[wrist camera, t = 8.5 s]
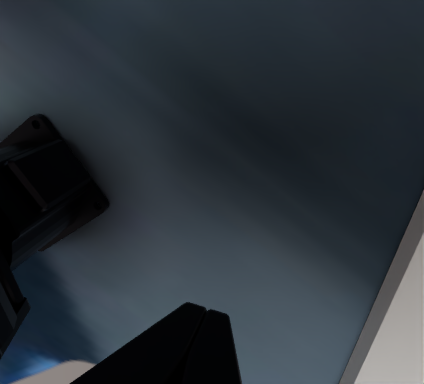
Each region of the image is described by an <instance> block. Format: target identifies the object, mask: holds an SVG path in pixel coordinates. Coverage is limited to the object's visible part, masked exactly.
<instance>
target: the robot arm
mask: <svg viewBox="0 0 424 384" xmlns="http://www.w3.org/2000/svg"><path fill="white" fill-rule="evenodd" d="M37 121H38V122H39V123H40V127H39V126H38V125H37ZM97 202H99V203H100V204H101V205H102V207H100V206H99V205H98V204H97ZM108 207H109V202H108V200H107V198H106V197H105V196H104V194H103V193H102V192H101V190H100V189H99V188H98V187H97V185H96V184H95V183H94V181H93V180H92V179H91V177H90V176H89V174H88V173H87V171H86V170H85V169H84V167H83V166H82V165H81V163H80V162H79V161H78V159H77V158H76V157H75V155H74V154H73V153H72V151H71V150H70V149H69V147H68V146H67V145H66V143H65V142H64V141H63V140H62V139H61V137H60V136H59V135H58V133H57V132H56V131H55V129H54V128H53V127H52V125H51V124H50V123H49V121H48V120H47V119H46V118H45V117H44V116H43V115H41V114H37V115H33V116H31V117H29V118H28V119H27V120H26V121H25V122H24V123H23V124H22V125H20V126H19V127H18V128H17V129H16V130H15V131H14V132H12V133H11V134H10V135H9V136H8V137H7V138H6V139H4V140H3V141H2V142H1V143H0V360H1V358H2V356H3V354H4V352H5V351H6V349H7V347H8V346H9V344H10V342H11V340H12V339H13V337H14V335H15V334H16V332H17V330H18V329H19V327H20V325H21V324H22V322H23V320H24V318H25V317H26V315H27V313H28V312H29V310H30V308H31V307H30V305H29V302H28V300H27V298H25V297H23V295H22V293H21V290H20V288H19V286H18V284H17V282H16V280H15V278H14V275H13V273H12V271H13V270H14V269H15V268H16V267H18V266H19V265H20V264H22V263H23V262H24V261H25V260H27V259H28V258H29V257H30V256H32V255H33V254H34V253H36V252H37V251H44V250H45V249H47V248H48V247H50V246H52V245H53V244H55V243H56V242H58V241H59V240H61V239H63V238H64V237H66V236H67V235H69V234H70V233H72V232H74V231H75V230H77V229H78V228H80V227H81V226H83V225H85V224H86V223H88V222H89V221H91V220H92V219H94V218H96V217H97V216H99V215H100V214H102V213H103V212H105V211H106V210H107V209H108ZM70 384H242V381H241V375H240V370H239V365H238V359H237V354H236V349H235V344H234V338H233V333H232V328H231V323H230V318H229V316H228V315H227V314H225V313H222V312H219V311H216V310H212V309H209V310H208V311H207V310H206V308H205V307H203V306H200V305H197V304H193V303H190V302H186V303H184V304H183V305H181V306H180V307H178V308H177V309H175V310H174V311H173V312H171V313H170V314H168V315H167V316H165V317H164V318H163V319H161V320H160V321H158V322H157V323H155V324H154V325H153V326H151V327H150V328H148V329H147V330H145V331H144V332H143V333H141V334H140V335H138V336H137V337H135V338H134V339H133V340H131V341H130V342H128V343H127V344H125V345H124V346H123V347H121V348H120V349H118V350H117V351H115V352H114V353H113V354H111V355H110V356H108V357H107V358H105V359H104V360H103V361H101V362H100V363H98V364H97V365H95V366H94V367H93V368H91V369H90V370H88V371H87V372H85V373H84V374H83V375H81V376H80V377H78V378H77V379H76V380H74V381H73V382H71V383H70Z"/></svg>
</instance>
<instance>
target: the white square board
mask: <svg viewBox="0 0 424 384" xmlns="http://www.w3.org/2000/svg"><path fill="white" fill-rule="evenodd" d="M339 384H424V190H423V193H422V195H421V197H420V200H419V202H418V204H417V206H416V209H415V211H414V213H413V216H412V218H411V220H410V222H409V225H408V227H407V229H406V232H405V234H404V236H403V238H402V241H401V243H400V245H399V248H398V250H397V252H396V254H395V257H394V259H393V261H392V264H391V266H390V268H389V270H388V273H387V275H386V277H385V279H384V282H383V284H382V286H381V289H380V291H379V293H378V295H377V298H376V300H375V302H374V305H373V307H372V309H371V311H370V314H369V316H368V318H367V321H366V323H365V325H364V327H363V330H362V332H361V334H360V337H359V339H358V341H357V343H356V346H355V348H354V350H353V353H352V355H351V357H350V359H349V362H348V364H347V366H346V369H345V371H344V373H343V375H342V378H341V380H340V382H339Z"/></svg>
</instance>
